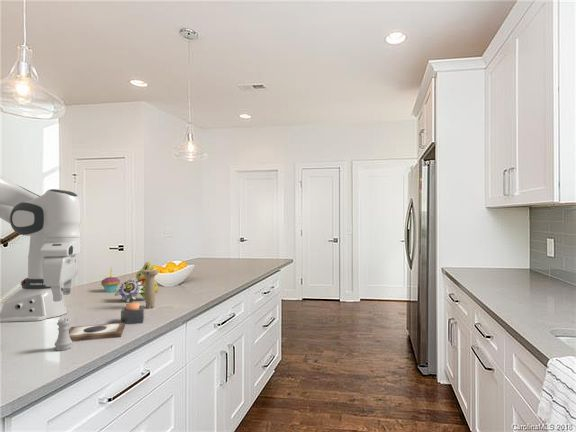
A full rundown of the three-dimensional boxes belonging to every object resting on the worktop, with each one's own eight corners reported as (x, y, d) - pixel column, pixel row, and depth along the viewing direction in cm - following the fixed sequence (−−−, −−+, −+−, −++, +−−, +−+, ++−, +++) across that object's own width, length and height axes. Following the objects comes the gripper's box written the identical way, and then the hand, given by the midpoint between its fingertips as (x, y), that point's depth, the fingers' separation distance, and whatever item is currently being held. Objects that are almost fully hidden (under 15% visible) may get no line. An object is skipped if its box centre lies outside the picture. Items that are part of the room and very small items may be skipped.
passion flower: (128, 314, 163) (110, 294, 159) (133, 304, 173) (116, 284, 170) (150, 299, 163) (132, 278, 160) (154, 290, 174) (137, 270, 171)
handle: (155, 309, 150) (155, 271, 150) (139, 308, 151) (139, 271, 151) (160, 306, 155) (160, 269, 155) (145, 305, 155) (145, 269, 156)
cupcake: (102, 290, 190) (102, 266, 190) (121, 289, 193) (121, 265, 193) (99, 293, 182) (99, 268, 182) (118, 292, 185) (119, 268, 185)
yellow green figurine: (138, 291, 188) (138, 261, 188) (160, 291, 187) (160, 261, 187) (132, 293, 181) (132, 262, 181) (154, 294, 180) (154, 262, 181)
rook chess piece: (76, 345, 107) (76, 317, 107) (67, 351, 102) (67, 321, 102) (60, 345, 107) (60, 317, 107) (50, 351, 102) (50, 321, 102)
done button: (125, 314, 129) (125, 305, 130) (126, 311, 134) (126, 303, 134) (139, 313, 131) (139, 305, 131) (139, 310, 135) (139, 302, 135)
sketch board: (61, 342, 110) (61, 337, 110) (70, 330, 121) (70, 326, 121) (120, 336, 114) (120, 331, 114) (124, 326, 126) (124, 321, 126)
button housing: (120, 324, 128) (120, 311, 128) (123, 319, 134) (123, 306, 134) (142, 322, 130) (142, 309, 130) (143, 317, 137) (143, 305, 137)
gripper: (60, 245, 113) (59, 291, 113) (37, 250, 94) (37, 306, 94) (83, 245, 115) (83, 290, 115) (66, 250, 96) (65, 304, 96)
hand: (62, 297), depth 104 cm, fingers open, 8 cm apart
